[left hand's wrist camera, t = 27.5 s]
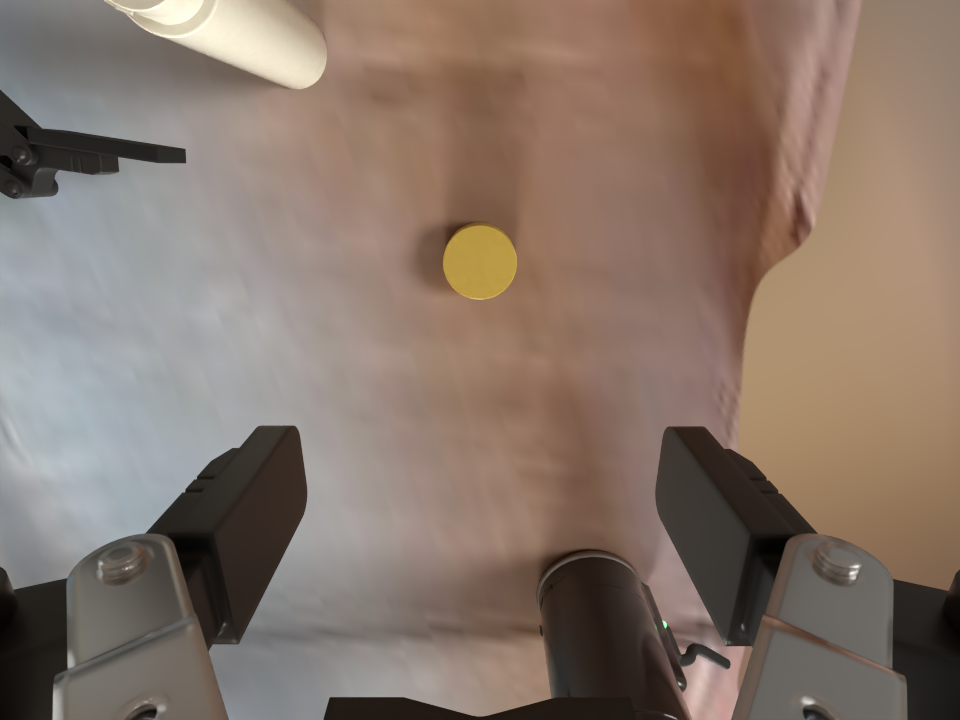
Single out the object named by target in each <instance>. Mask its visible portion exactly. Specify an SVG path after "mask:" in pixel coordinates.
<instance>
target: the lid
mask: <svg viewBox="0 0 960 720" xmlns="http://www.w3.org/2000/svg"><path fill="white" fill-rule="evenodd" d="M516 267H517V257H516V252H515V249H514V247H513V244H512V242H511V240H510V238H509V237H508V236H507V234H506V233H505V232H504V231H503V230H501V229H500V228H498V227H497V226H495V225H493V224H490V223H485V222H475V223H470V224H467V225H465V226H463V227H461V228H460V229H458V230H457V231H456V232H455V233H454V234H453V235H452V237H451V238H450V240H449V242H448V244H447V246H446V249H445V252H444V255H443V269H444V273H445V276H446V278H447V280H448V282H449V283H450V285H451V286H452V287H453V288H454V289H455V290H456V291H457V292H459V293H460V294H462V295H463V296H466V297H468V298H472V299H487V298H491V297H494V296H496V295H498V294H500V293H501V292H503V291H504V290H505V289H506V288H507V287H508V286H509V284H510V283H511V281H512V280H513V278H514V275H515V272H516Z"/></svg>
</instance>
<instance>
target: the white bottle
mask: <svg viewBox="0 0 960 720" xmlns="http://www.w3.org/2000/svg"><path fill="white" fill-rule="evenodd" d="M105 1H106V2H107V3H109V4H110V5H112V6H113V7H115V8H116V9H118V10H120V11H122V12H125V13H126V15H127V16H128V17H129V18H130V19H131V20H132V21H134V22H135V23H136V24H137V25H139V26H140V27H142V28H143V29H145V30H146V31H148V32H150V33H153V34H155V35H157V36H160V37H162V38H165V39H167V40H170V41H172V42H175V43H177V44H180V45H182V46H185V47H187V48H190V49H192V50H195V51H197V52H200V53H202V54H205V55H207V56H210V57H212V58H215V59H217V60H220V61H222V62H225V63H227V64H230V65H232V66H235V67H237V68H239V69H242V70H244V71H247V72H249V73H252V74H254V75H257V76H259V77H262V78H264V79H267V80H269V81H272V82H274V83H277V84H279V85H282V86H284V87H287V88H291V89H303V88H306V87H309V86H311V85H312V84H314V83H315V82H316V81H317V80H318V79H319V78H320V76H321V75H322V73H323V71H324V69H325V66H326V61H327V49H326V44H325V40H324V38H323V35H322V33H321V31H320V30H319V28H318V27H317V25H316V24H315V23H314V22H313V21H312V20H311V19H310V18H308V17H307V16H306V15H305V14H304V13H303V12H301V11H300V10H299V9H298V8H297V7H296V6H294V5H293V4H292V3H291V2H290V1H289V0H105Z"/></svg>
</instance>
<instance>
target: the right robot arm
mask: <svg viewBox="0 0 960 720" xmlns="http://www.w3.org/2000/svg"><path fill="white" fill-rule="evenodd" d="M118 157H122V158H129V159H135V160H142V161H148V162H155V163H186V152H185V149H182V148H175V147H169V146H162V145H156V144H149V143H143V142H136V141H130V140H123V139H117V138H110V137H104V136H97V135H91V134H84V133H78V132H72V131H64V130H52V129H42V128H41V127H40V126H39V125H38V124H37V123H36V122H34V121H33V120H32V119H31V118H30V117H29V116H28V115H27V114H26V113H25V112H24V111H23V110H21V109H20V108H19V107H18V106H17V105H16V104H15V103H14V102H13V101H12V100H11V99H10V98H9V97H7V96H6V95H5V94H4V93H3V92H2V91H1V90H0V192H1V193H3V194H5V195H6V196H8V197H10V198H13V199H19V198H33V197H47V196H54V195H56V193H57V192H58V184H57V182H56V181H55V179H54V178H55V174H56V172H57V171H58V170H65V171H71V172H78V173H85V174H91V175H101V174H113V173H117V172H119V166H118Z"/></svg>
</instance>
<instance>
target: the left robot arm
mask: <svg viewBox="0 0 960 720" xmlns="http://www.w3.org/2000/svg"><path fill="white" fill-rule="evenodd" d="M655 496H656V506H657V510H658V514H659V517H660V519H661V521H662V523H663V525H664V527H665V529H666V531H667V533H668V534H669V536H670V538H671V540H672V542H673V544H674V546H675V548H676V550H677V552H678V554H679V556H680V558H681V560H682V562H683V564H684V566H685V568H686V570H687V572H688V574H689V576H690V578H691V580H692V582H693V583H694V585H695V587H696V589H697V591H698V593H699V595H700V597H701V599H702V601H703V603H704V605H705V607H706V609H707V611H708V613H709V615H710V617H711V619H712V621H713V623H714V625H715V627H716V629H717V630H718V632H719V634H720V636H721V638H722V640H723V642H724V644H725V646H752V648H753V650H752V653H751V656H750V660H749V663H748V666H747V669H746V673H745V676H744V679H743V683H742V686H741V689H740V692H739V696H738V699H737V702H736V706H735V709H734V712H733V715H732V719H731V720H960V570H959V571H958V572H957V573H956V575H955V577H954V580H953V582H952V584H951V587H950V589H949V591H946V590H941V589H936V588H932V587H927V586H922V585H918V584H913V583H908V582H904V581H899V580H895V579H892V576H891V574H890V573H889V571H888V570H887V568H886V567H885V566H884V565H883V564H882V563H881V562H880V561H879V560H878V559H876V558H875V557H874V556H872V555H871V554H869V553H868V552H867V551H865V550H863V549H861V548H860V547H858V546H856V545H854V544H852V543H849V542H847V541H844V540H841V539H838V538H835V537H832V536H827V535H822V534H818V533H817V532H816V531H815V530H814V529H813V528H812V527H811V526H810V525H809V523H808V522H807V521H806V520H805V519H804V518H803V517H802V516H801V515H800V514H799V513H798V511H797V510H796V509H795V508H794V507H793V506H792V505H791V504H790V503H789V502H788V501H787V499H786V498H785V497H784V496H783V495H782V494H779V493H778V490H777V489H776V487H775V486H774V485H773V484H772V483H771V482H770V481H767V480H766V477H765V475H764V474H763V473H762V472H761V471H760V470H759V469H758V468H757V467H756V466H755V465H754V463H753V462H751V461H749V460H748V459H746V458H744V457H743V456H741V455H740V454H738V453H736V452H735V451H733V450H731V449H724V448H723V447H722V446H721V445H720V444H719V443H718V441H717V440H716V439H715V438H714V437H713V436H712V434H711V433H710V432H709V431H708V430H707V429H706V428H705V427H667V428H666V429H665V431H664V434H663V439H662V447H661V454H660V461H659V468H658V475H657V482H656V491H655ZM306 502H307V483H306V476H305V469H304V462H303V455H302V448H301V440H300V434H299V431H298V429H297V427H296V426H258V427H257V428H256V429H255V430H254V431H253V433H252V434H251V435H250V436H249V437H248V438H247V440H246V441H245V442H244V443H243V444H242V446H241V447H240V448H232V449H230V450H229V451H227V452H225V453H224V454H222V455H220V456H219V457H217V458H216V459H214V460H212V461H211V462H210V463H209V464H208V465H207V466H206V467H205V468H204V469H203V471H202V472H201V473H200V474H199V475H198V476H197V480H194V481H193V482H192V483H191V484H190V485H189V486H188V487H187V488H186V491H185V493H182V494H181V495H180V496H179V497H178V498H177V499H176V500H175V501H174V503H173V504H172V505H171V506H170V507H169V508H168V509H167V510H166V511H165V512H164V514H163V515H162V516H161V517H160V518H159V519H158V520H157V521H156V522H155V523H154V525H153V526H152V527H151V528H150V529H149V530H148V531H147V532H146V533H145V534H138V535H133V536H128V537H125V538H121V539H118V540H116V541H113V542H111V543H108V544H106V545H104V546H102V547H100V548H99V549H97V550H95V551H93V552H92V553H90V554H89V555H88V556H86V557H85V558H84V559H82V560H81V561H80V562H79V563H78V564H77V565H76V566H75V567H74V568H73V570H72V571H71V573H70V574H69V576H68V578H67V579H62V580H57V581H53V582H48V583H43V584H39V585H34V586H29V587H25V588H20V589H15V590H13V587H12V585H11V582H10V580H9V578H8V575H7V573H6V571H5V570H4V569H3V568H1V567H0V720H229V719H228V715H227V712H226V709H225V706H224V702H223V699H222V696H221V692H220V689H219V686H218V683H217V679H216V676H215V673H214V669H213V666H212V663H211V660H210V656H209V653H208V651H209V650H210V648H211V646H212V644H239V642H240V640H241V638H242V636H243V634H244V632H245V630H246V628H247V626H248V624H249V622H250V620H251V618H252V616H253V614H254V612H255V610H256V608H257V606H258V604H259V602H260V601H261V599H262V597H263V595H264V593H265V591H266V589H267V587H268V585H269V583H270V581H271V579H272V577H273V575H274V573H275V571H276V569H277V567H278V565H279V563H280V561H281V559H282V557H283V555H284V553H285V551H286V549H287V547H288V545H289V543H290V541H291V539H292V537H293V535H294V533H295V531H296V529H297V527H298V525H299V523H300V521H301V519H302V517H303V515H304V512H305V508H306ZM537 602H538V608H539V611H540V616H541V624H542V627H541V626H540V632H541V635H542V636H543V640H544V647H545V655H546V662H547V669H548V677H549V684H550V691H551V699H549V700H545V701H541V702H537V703H534V704H530V705H526V706H522V707H519V708H515V709H511V710H508V711H504V712H500V713H496V714H493V715H489V716H484V717H476V716H471V715H467V714H464V713H460V712H456V711H452V710H449V709H445V708H441V707H438V706H434V705H430V704H426V703H423V702H419V701H415V700H411V699H408V698H404V697H330V698H329V702H328V706H327V709H326V713H325V716H324V720H692V718H691V715H690V713H689V710H688V708H687V705H686V702H685V700H684V697H683V694H682V693H683V692H684V691H685V689H686V687H687V682H686V678H685V676H684V673H683V671H682V668H681V667H686V666H689V665H691V664H692V663H694V661H695V659H696V656H697V655H700V656H703V657H705V658H707V659H708V660H710V661H712V662H713V663H715V664H717V665H718V666H720V667H722V668H724V669H729V668H730V661H729V660H728V659H726V658H725V657H723V656H721V655H719V654H718V653H716V652H715V651H713V650H711V649H709V648H707V647H705V646H703V645H699V644H691V645H690V646H688V648H687V650H686V653H685V654H683V655H681V653H680V651H679V649H678V646H677V644H676V641H675V639H674V636H673V634H672V631H671V629H670V627H668V626H666V622H664V621H662V618H661V616H660V613H659V611H658V608H657V606H656V603H655V601H654V598H653V596H652V593H651V591H650V588H649V586H647V585H645V584H643V583H641V581H640V578H639V576H638V574H637V572H636V570H635V569H634V568H633V566H632V565H631V564H630V563H628V562H627V561H626V560H624V559H623V558H621V557H619V556H617V555H614V554H612V553H608V552H603V551H582V552H577V553H574V554H570V555H568V556H565V557H563V558H561V559H560V560H558V561H556V562H555V563H554V564H552V565H551V566H550V567H549V568H548V569H547V570H546V571H545V573H544V574H543V575H542V577H541V579H540V581H539V584H538V587H537Z"/></svg>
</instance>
